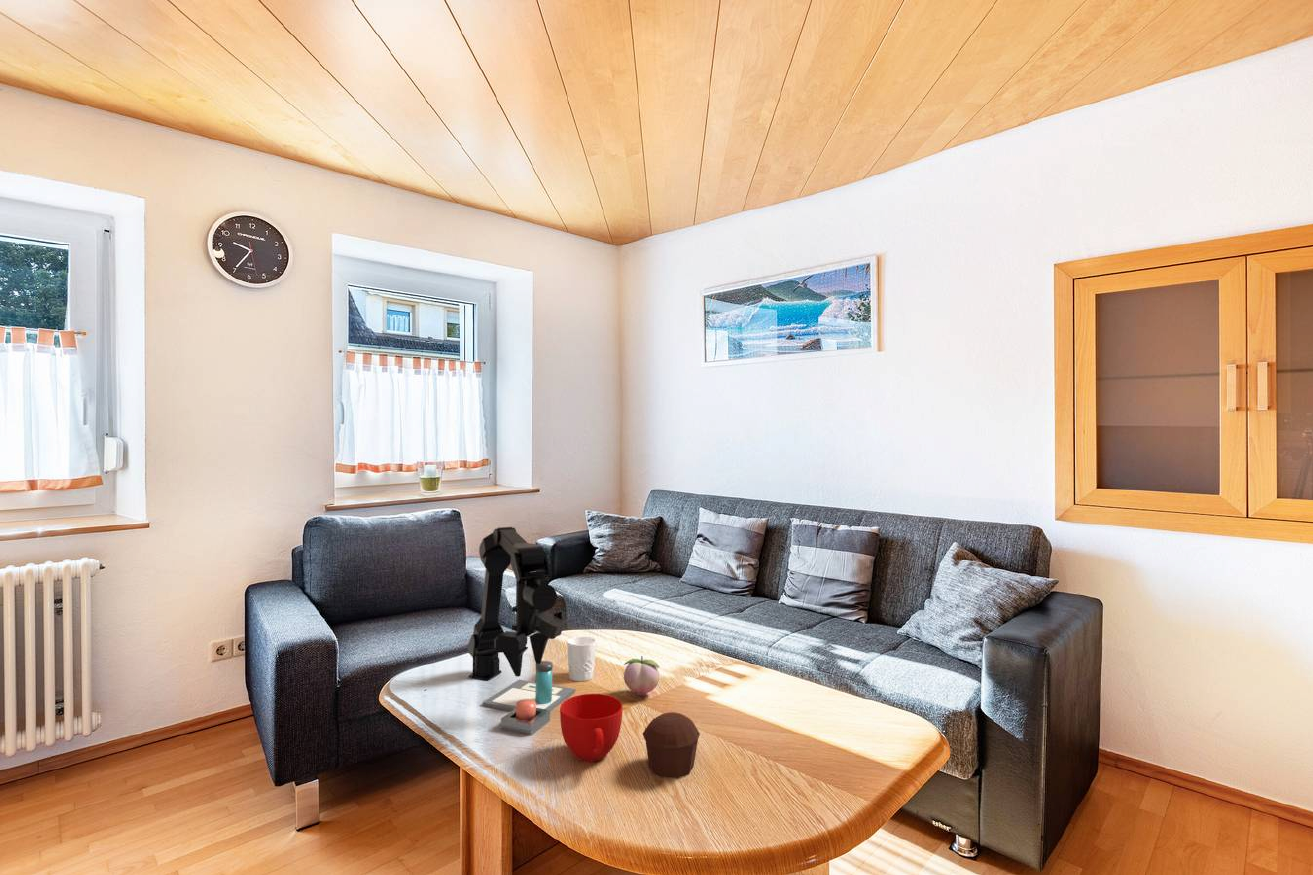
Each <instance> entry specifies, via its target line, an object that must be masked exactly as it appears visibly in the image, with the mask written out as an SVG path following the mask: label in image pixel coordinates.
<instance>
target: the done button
mask: <svg viewBox="0 0 1313 875" xmlns="http://www.w3.org/2000/svg"><path fill="white" fill-rule="evenodd" d="M535 717H536V701H535V700H532V699H523V700H520V701H518V702H517V703H516V719H521V720H526V721H531V720H532V719H533V718H535Z"/></svg>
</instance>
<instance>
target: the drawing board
mask: <svg viewBox="0 0 1313 875" xmlns="http://www.w3.org/2000/svg"><path fill="white" fill-rule="evenodd" d="M535 688H536V681H531V680H530V681H529V680H523V679H517V680H515V681H514V682H513V683H511V684H510V685H508V686H506V687H504V688H503V689H502V690H500V691H499V692H496V693H495V694H494V695H492V696H490V697H489V698H487V699H486V700H484V701H482V706H483V707H488V708H493V709H498V710H503V711H508V712H511V711H512V710H514V709H515V708H516V703H517V702H518V701H520V700H523V699H532V700H535ZM573 694H576V688H573V687H572V688H571V687H567V686H566V687H564V686H559V685H553V684H552V701H551V702H550V703H547V704H538V703H536V708H541V709H546V710H550V712H551V711H553V710H554V709H555V708H556V707H558V706H559V705H561V704H562V703H563V702H564V701H566V700H567V699H569V698H571V696H572V695H573Z"/></svg>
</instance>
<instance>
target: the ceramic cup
mask: <svg viewBox="0 0 1313 875" xmlns="http://www.w3.org/2000/svg"><path fill="white" fill-rule="evenodd" d="M623 708H624V707H623V703H622V701H620V699H618V698H616V697H614V696H612V695H609V694H602V693H584V694H579V695H575V696H574V695H573V696H572V697H571V696H570V697H568V698H567V699H566V700H564V701H563V702H562V703H561V704H560V707H559V714H560V715H559V716H560V717H559V718H560V720H559V721H560V727H561V735H562V738H563V741H564V743H565V744H566V746H567V748H568V749H569V751H570V752H571V753H572V754H573V755H574V756H575V758H576V759H577V760H580V762H585V763H586V762H587V763H590V762H598V761H600V760H603V759H604V758H605V757H607V755H608V753H610V751H611V750H612V749H613V748H614V746H615V745H616V744H617V743H616V742H617V740H618V739H619V736H620V733H621V728H622V727H621V726H622V723H623V722H622V720H623V710H624V709H623Z"/></svg>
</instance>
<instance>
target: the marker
mask: <svg viewBox="0 0 1313 875" xmlns="http://www.w3.org/2000/svg"><path fill="white" fill-rule="evenodd" d="M553 666H554V664H553V662H552V661H550V660H549V661H548V660H546V661H545V660H543V661H542V660H541V663H540V664H536V663H535V682H536V688H535V701H536V703H538V704H547V703H550V702H551V701H552V685H553Z"/></svg>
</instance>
